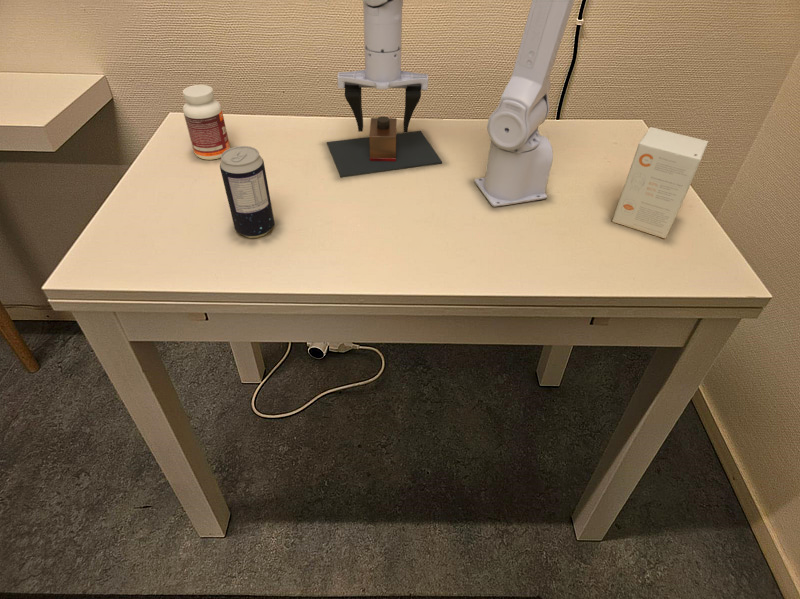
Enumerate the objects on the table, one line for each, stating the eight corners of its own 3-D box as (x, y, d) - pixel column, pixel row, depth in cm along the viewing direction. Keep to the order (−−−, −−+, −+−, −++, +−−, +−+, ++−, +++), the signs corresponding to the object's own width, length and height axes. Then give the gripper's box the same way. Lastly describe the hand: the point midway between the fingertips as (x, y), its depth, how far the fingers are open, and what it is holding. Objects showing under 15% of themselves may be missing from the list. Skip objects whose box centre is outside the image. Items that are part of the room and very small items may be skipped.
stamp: (396, 142, 97) (396, 110, 93) (395, 161, 92) (396, 128, 88) (371, 141, 97) (370, 110, 93) (369, 161, 92) (369, 128, 88)
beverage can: (282, 222, 79) (270, 148, 71) (263, 244, 75) (247, 169, 67) (248, 215, 80) (232, 141, 72) (228, 236, 76) (208, 161, 68)
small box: (674, 219, 82) (710, 140, 73) (665, 240, 78) (702, 159, 69) (621, 202, 85) (650, 125, 76) (610, 222, 81) (638, 142, 72)
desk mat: (420, 132, 101) (420, 130, 101) (442, 163, 93) (442, 161, 92) (326, 144, 97) (326, 141, 97) (340, 177, 89) (340, 175, 88)
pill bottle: (236, 155, 93) (222, 93, 86) (201, 164, 91) (184, 101, 83) (223, 140, 97) (209, 79, 89) (190, 149, 94) (172, 87, 87)
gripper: (333, 54, 79) (339, 139, 89) (430, 56, 79) (426, 141, 89) (337, 38, 84) (342, 120, 94) (429, 40, 84) (424, 122, 94)
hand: (383, 129), depth 92 cm, fingers open, 7 cm apart
